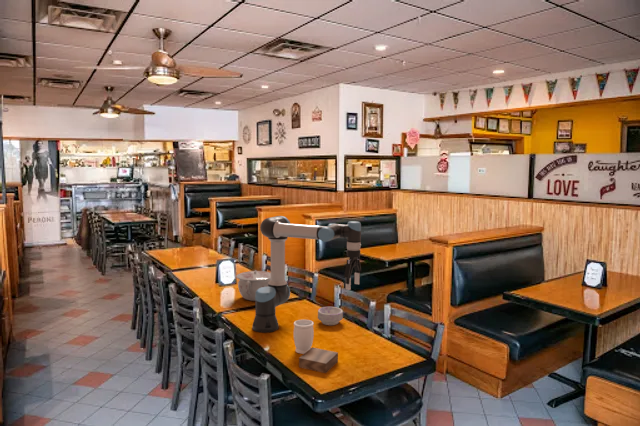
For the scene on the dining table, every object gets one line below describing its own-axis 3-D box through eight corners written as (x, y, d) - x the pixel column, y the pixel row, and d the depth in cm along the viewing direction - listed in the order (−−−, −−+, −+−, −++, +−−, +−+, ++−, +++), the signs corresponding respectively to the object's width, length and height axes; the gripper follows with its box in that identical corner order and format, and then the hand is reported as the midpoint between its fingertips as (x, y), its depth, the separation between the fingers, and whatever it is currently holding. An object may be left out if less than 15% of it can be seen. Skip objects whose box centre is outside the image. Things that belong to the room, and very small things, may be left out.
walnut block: (299, 368, 215) (299, 357, 214) (312, 357, 227) (312, 347, 227) (325, 374, 209) (326, 363, 208) (337, 362, 222) (337, 352, 221)
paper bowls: (334, 329, 266) (335, 315, 265) (313, 324, 274) (313, 311, 273) (347, 321, 279) (347, 309, 278) (326, 317, 287) (326, 304, 286)
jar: (310, 355, 228) (311, 326, 226) (291, 353, 230) (291, 325, 228) (315, 347, 238) (315, 320, 237) (296, 345, 240) (296, 318, 239)
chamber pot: (261, 291, 345) (261, 264, 343) (282, 299, 324) (282, 270, 322) (228, 297, 327) (228, 269, 325) (248, 306, 306) (247, 276, 304)
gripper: (351, 253, 239) (350, 292, 241) (367, 246, 262) (366, 282, 264) (338, 252, 242) (337, 291, 245) (355, 245, 265) (354, 281, 267)
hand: (352, 286), depth 254 cm, fingers open, 13 cm apart
